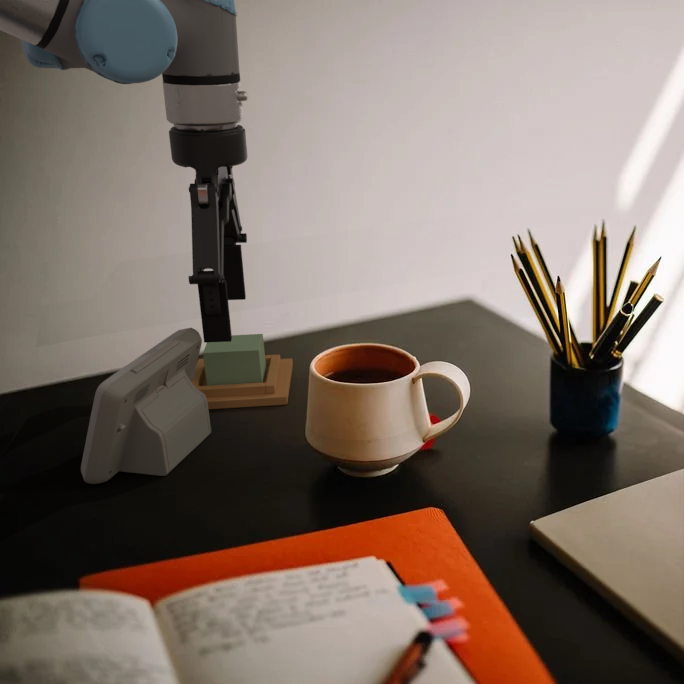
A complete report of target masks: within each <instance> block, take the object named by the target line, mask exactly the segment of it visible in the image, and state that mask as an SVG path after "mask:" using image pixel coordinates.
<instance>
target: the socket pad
mask: <svg viewBox="0 0 684 684" xmlns="http://www.w3.org/2000/svg"><path fill="white" fill-rule="evenodd" d="M265 361H266V372H265V377H264V382H263V383H247V384H230V385H213V386H207V381H206V373H205V366H204V358H198V361H197V365H196V369H195V373H194V377H193V381H192V384H193V385H194V386H195V387H196V389H197V390H199V391H201V392H202V393H204V394H205V396H206V399H207V402H208V410H221V409H222V410H223V409H224V410H225V409H237V408H255V407H269V406H270V407H271V406H286V405H288V402H289V400H288V399H289V395H290V388H291V383H292V382H291V380H292V376H293V375H292V374H293V368H294V360H293V358H292V357H291V358H281V354H265Z"/></svg>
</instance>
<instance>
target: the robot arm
mask: <svg viewBox="0 0 684 684" xmlns="http://www.w3.org/2000/svg"><path fill="white" fill-rule="evenodd" d="M237 13H238V12H237V11H236V4H235V0H0V31H1V32H3V33H6V34H8V35H10V36H12V37H14V38H17V39H19V40H20V43H21V47H22V50H23V53H24V56H25V58H26V61H27V62H29V64H30V65H31V66H33V67H35V68H38V69H59V70H61V71H67V70H70V69H86V70H89V71H90V72H93V73H95V74H96V75H98V76H100V77H102V78H104V79H106V80H108V81H111V82H113V83H116V84H120V85H132V84H142V83H147V82H150V81H152V80H154V79H157V78H158V77H159V76H161V77H162V87H163V88H162V89H163V90H162V91H163V97H164V98H163V99H164V107H165V116H166V120H167V122H169V123H170V124H171V125H173V126H171V128H170V129H169V130H168V137H169V138H168V139H169V146H170V153H171V154H170V155H171V160H172V162H173V163H174V164H175V165H176V166H179V167H183V168H191V169H193V170H195V171H194V172H195V179H194V183H190V184H189V186H188V193H189V198H190V213H191V214H190V215H191V250H192V251H191V252H192V253H191V254H192V256H191V257H192V275H188V283H189V285H197V291H198V301H199V309H200V317H201V327H202V336H203V343H205V344H207V342H231V340H232V327H231V326H232V325H231V316H230V305H229V301H242V300H243V301H244V300H246V298H247V297H246V284H245V273H244V261H243V253H242V244H247V242H248V234H247V233H242V232H243V226H242V223H241V218H240V211H239V205H238V200H237V193H236V188H235V187H236V186H235V185H236V183H235V179H234V175H233V167H236V166H239V165H242V164H244V163H246V161H247V160H248V147H247V135H246V129H245V128H244V127H243V125H241V124H239V123H240V122H242V121H243V119H244V108H243V106H244V105H243V103H242V102H246V101H248V100H249V94H248V92H247V91H245V90H240V88H241V86H242V85H241V75H240V73H241V72H240V59H239V58H240V57H239V45H238V28H237V17H238V15H237ZM207 269H208V270H207Z"/></svg>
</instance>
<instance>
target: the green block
mask: <svg viewBox="0 0 684 684" xmlns="http://www.w3.org/2000/svg"><path fill="white" fill-rule="evenodd" d="M231 335H232V334H231ZM265 352H266V351H265V342H264V334H263V333H251V334H234V335H232V340H231V342H206V343H205V347H204V349H203V352H202V359H204V366H205V373H206V381H207V386H213V385H230V384H247V383H263V382H264V377H265V372H266V361H265V355H266V353H265Z"/></svg>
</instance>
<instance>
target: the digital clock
mask: <svg viewBox="0 0 684 684" xmlns="http://www.w3.org/2000/svg"><path fill="white" fill-rule="evenodd" d="M202 343H203V339H202V336H201V334H200V333H199V331H198V329H195V328H193V327H188V328H182V329H178V330H176V331H175V332H173V333H172V334H170V335H169V336H168V337H166V338H164V339H163V340H162V341H160V342H159V343H157V344H155V345H154V346H152V347H151V348H150V349H148V350H146V351H145V352H144V353H142V354H141V355H139V356H138V357H136V358H135V359H134V360H132V361H131V362H129V363H128V364H126V365H125V366H124V367H122V368H121V369H118V371H115V373H113V374H112V375H110V376H109V377H108V378H106V379H104V380H103V381H102V382H101V383H100V384H99V385H98V387H96V391H95V392H94V393H95V394H94V398H93V403H92V407H91V412H90V416H89V417H90V418H89V423H88V428H87V432H86V439H85V444H84V449H83V453H82V459H81V464H80V473H81V476H82V478H83V481H84V482H85V483H86V484H89V485H98V484H103V483H106V482H108V481H109V480H110V479H112V478H113V477H114V476H115V475H116V474H118V473H119V472H121V473H122V472H123V473H130V474H131V473H132V474H140V475H150V476H157V477H158V476H159V477H166V476H167V475H169V473H171V471H173V470H174V469H175V468H176V467H177V466H178V465H179V464H180V463H182V461H183V460H184V459H186V457H187V456H189V455H190V454H191V453H192V452H193V451H194V450H195V449H196V448H197V447H198V446H199V445H201V443H203V441H204V440H205V439H206V438H208V437H209V436H210V435H211V434H212V425H211V419H210V411H209V410H210V409H208V402H207V399H206V396H205V394H204V393H202V392H201V391H199V390H197V389H196V387H195V386H194V385H193V384H192V381H193V377H194V373H195V369H196V365H197V362H198V360H199V356H200V353H201V348H202Z"/></svg>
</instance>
